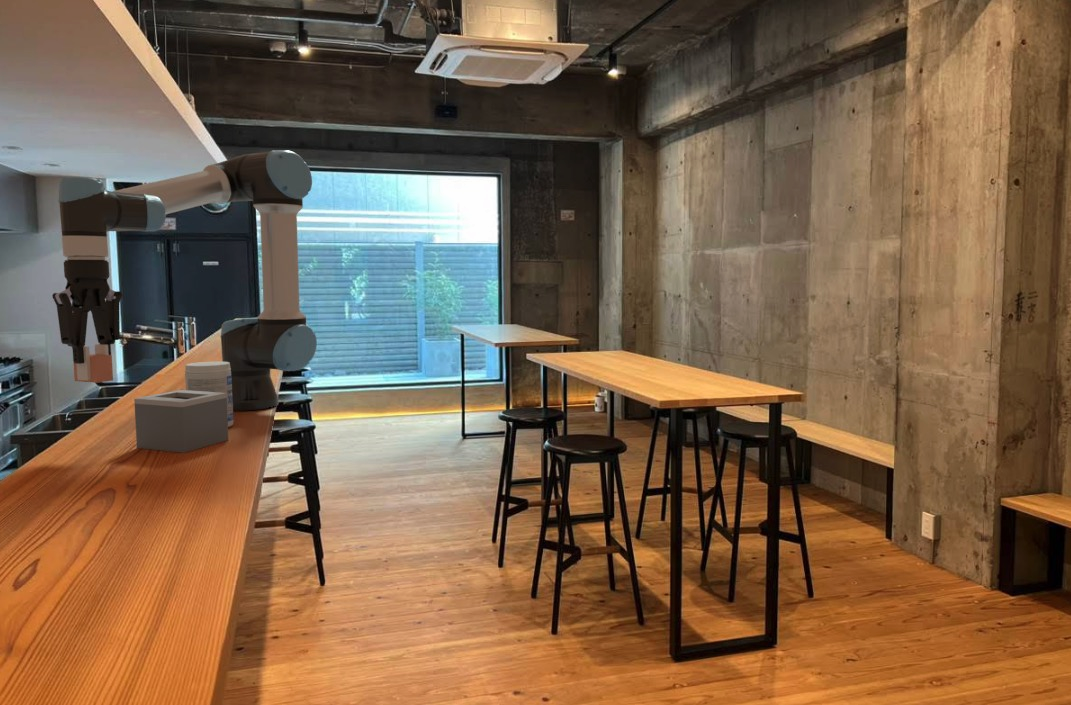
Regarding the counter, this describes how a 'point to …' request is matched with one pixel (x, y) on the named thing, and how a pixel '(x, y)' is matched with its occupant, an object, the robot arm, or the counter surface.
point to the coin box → (181, 420)
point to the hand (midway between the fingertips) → (94, 378)
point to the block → (98, 369)
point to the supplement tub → (211, 380)
